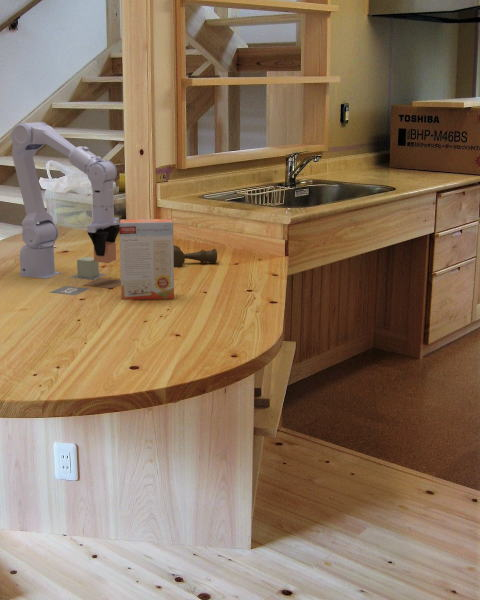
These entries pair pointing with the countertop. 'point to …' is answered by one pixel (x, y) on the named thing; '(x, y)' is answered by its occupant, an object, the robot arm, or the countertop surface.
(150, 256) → the cracker box
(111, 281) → the walnut coaster
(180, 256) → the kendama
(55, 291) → the tile
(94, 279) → the gray coaster
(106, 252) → the rust block
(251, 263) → the countertop surface
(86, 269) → the sage block
